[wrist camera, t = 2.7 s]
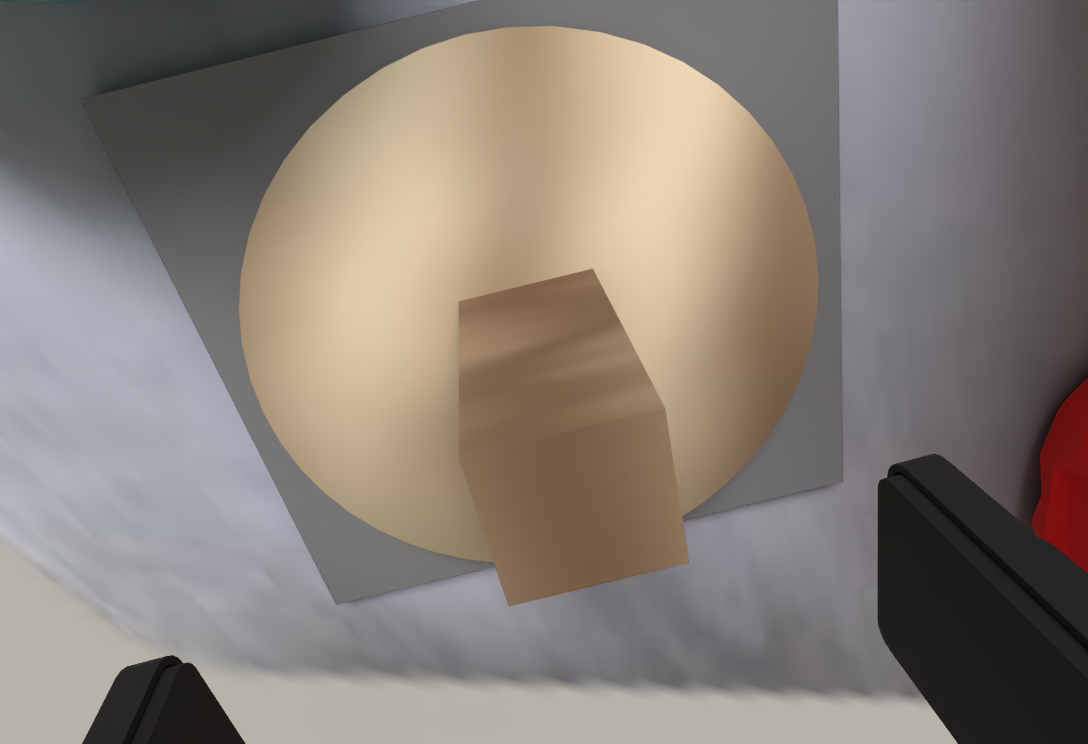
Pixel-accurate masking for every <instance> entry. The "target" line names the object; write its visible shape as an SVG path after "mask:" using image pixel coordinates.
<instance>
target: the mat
mask: <svg viewBox="0 0 1088 744" xmlns="http://www.w3.org/2000/svg"><path fill="white" fill-rule="evenodd" d="M510 26H557V27H565V28H573V29H581V30H589V31H596V32H602V33H606V34H609V35H613V36H616V37H620V38H623V39H627V40H630V41H634V42H638V43H641V44H644V45H647V46H649V47H651V48H653V49H655V50H658V51H660V52H662V53H664V54H667V55H669V56H671V57H673V58H675V59H678V60H680V61H682V62H684V63H685V64H687V65H689V66H690V67H692V68H693V69H695V70H696V71H698V72H699V73H701V74H702V75H704V76H706V77H707V78H709V79H710V80H712V81H713V82H715V83H716V84H718V85H719V86H720V87H721V88H722V89H724V90H725V91H726V92H727V93H728V94H729V95H730V96H731V97H733V98H734V99H735V100H736V101H737V102H738V103H739V104H740V105H742V106H743V107H744V108H745V109H746V110H747V111H748V112H749V113H750V114H751V115H752V117H753V118H754V119H755V120H756V121H757V123H758V124H759V125H760V126H761V127H762V129H763V130H764V131H765V132H766V134H767V135H768V136H769V137H770V138H771V140H772V141H773V142H774V144H775V145H776V147H777V149H778V150H779V152H780V154H781V155H782V157H783V159H784V160H785V162H786V164H787V166H788V167H789V169H790V171H791V172H792V174H793V176H794V179H795V181H796V184H797V186H798V188H799V191H800V193H801V196H802V198H803V201H804V203H805V206H806V208H807V212H808V216H809V220H810V224H811V228H812V232H813V236H814V240H815V247H816V257H817V268H818V300H817V314H816V320H815V326H814V331H813V337H812V342H811V347H810V350H809V353H808V356H807V359H806V362H805V366H804V369H803V372H802V375H801V378H800V380H799V382H798V384H797V386H796V389H795V391H794V393H793V395H792V397H791V399H790V402H789V404H788V406H787V408H786V409H785V411H784V413H783V414H782V416H781V417H780V419H779V421H778V422H777V424H776V426H775V427H774V429H773V431H772V432H771V434H770V435H769V436H768V438H767V439H766V440H765V441H764V443H763V444H762V445H761V447H760V448H759V449H758V450H757V452H756V453H755V454H754V456H753V457H752V458H751V459H750V460H749V461H748V462H747V463H746V464H745V465H744V466H743V467H742V468H741V469H740V471H739V472H738V473H737V474H736V475H735V476H734V477H733V478H732V479H731V480H730V481H729V482H728V483H726V484H725V485H724V486H723V487H722V488H720V489H719V490H718V491H717V492H715V493H714V494H713V495H712V496H711V497H709V498H708V499H707V500H706V501H705V502H703V503H702V504H700V505H699V506H697V507H696V508H694V509H693V510H691V511H690V512H688V513H687V514H685V515H684V516H682V520H688V519H692V518H696V517H700V516H704V515H708V514H712V513H716V512H720V511H725V510H729V509H733V508H737V507H741V506H745V505H749V504H753V503H758V502H762V501H766V500H770V499H774V498H778V497H782V496H786V495H790V494H795V493H799V492H803V491H807V490H811V489H815V488H819V487H823V486H827V485H832V484H836V483H840V482H843V436H842V345H841V253H840V162H839V71H838V0H478V1H474V2H470V3H466V4H462V5H458V6H454V7H450V8H446V9H442V10H438V11H434V12H430V13H426V14H422V15H418V16H414V17H410V18H405V19H401V20H397V21H393V22H389V23H385V24H381V25H377V26H373V27H369V28H365V29H361V30H357V31H353V32H349V33H345V34H341V35H337V36H333V37H329V38H325V39H321V40H317V41H313V42H309V43H305V44H301V45H296V46H292V47H288V48H284V49H280V50H276V51H272V52H268V53H264V54H260V55H256V56H252V57H248V58H244V59H240V60H236V61H232V62H228V63H224V64H220V65H216V66H212V67H208V68H204V69H200V70H196V71H191V72H187V73H183V74H179V75H175V76H171V77H167V78H163V79H159V80H155V81H151V82H147V83H143V84H139V85H135V86H131V87H127V88H123V89H119V90H115V91H111V92H107V93H103V94H99V95H95V96H91V97H86V98H82V99H80V100H81V102H82V104H83V106H84V108H85V110H86V112H87V114H88V116H89V118H90V120H91V122H92V124H93V126H94V128H95V130H96V132H97V134H98V136H99V138H100V140H101V142H102V144H103V146H104V148H105V150H106V152H107V153H108V155H109V157H110V159H111V161H112V163H113V165H114V167H115V169H116V171H117V173H118V175H119V177H120V179H121V181H122V183H123V185H124V187H125V189H126V191H127V193H128V195H129V197H130V199H131V201H132V203H133V205H134V207H135V209H136V211H137V213H138V215H139V217H140V219H141V221H142V223H143V225H144V227H145V229H146V230H147V232H148V234H149V236H150V238H151V240H152V242H153V244H154V246H155V248H156V250H157V252H158V254H159V256H160V258H161V260H162V262H163V264H164V266H165V268H166V270H167V272H168V274H169V276H170V278H171V280H172V282H173V284H174V286H175V288H176V290H177V292H178V294H179V296H180V298H181V300H182V302H183V304H184V306H185V308H186V309H187V311H188V313H189V315H190V317H191V319H192V321H193V323H194V325H195V327H196V329H197V331H198V333H199V335H200V337H201V339H202V341H203V343H204V345H205V347H206V349H207V351H208V353H209V355H210V357H211V359H212V361H213V363H214V365H215V367H216V369H217V371H218V373H219V375H220V377H221V379H222V381H223V383H224V385H225V386H226V388H227V390H228V392H229V394H230V396H231V398H232V400H233V402H234V404H235V406H236V408H237V410H238V412H239V414H240V416H241V418H242V420H243V422H244V424H245V426H246V428H247V430H248V432H249V434H250V436H251V438H252V440H253V442H254V444H255V446H256V448H257V450H258V452H259V454H260V456H261V458H262V460H263V462H264V463H265V465H266V467H267V469H268V471H269V473H270V475H271V477H272V479H273V481H274V483H275V485H276V487H277V489H278V491H279V493H280V495H281V497H282V499H283V501H284V503H285V505H286V507H287V509H288V511H289V513H290V515H291V517H292V519H293V521H294V523H295V525H296V527H297V529H298V531H299V533H300V535H301V537H302V539H303V540H304V542H305V544H306V546H307V548H308V550H309V552H310V554H311V556H312V558H313V560H314V562H315V564H316V566H317V568H318V570H319V572H320V574H321V576H322V578H323V580H324V582H325V584H326V586H327V588H328V590H329V592H330V594H331V596H332V598H333V600H334V602H335V604H336V605H338V604H342V603H346V602H350V601H354V600H358V599H363V598H367V597H371V596H375V595H379V594H383V593H387V592H391V591H395V590H400V589H404V588H408V587H412V586H416V585H420V584H424V583H428V582H432V581H437V580H441V579H445V578H449V577H453V576H457V575H461V574H465V573H470V572H474V571H478V570H482V569H486V568H490V567H494V566H495V564H494V562H486V561H477V560H468V559H463V558H459V557H454V556H449V555H445V554H440V553H436V552H433V551H430V550H427V549H424V548H421V547H418V546H415V545H412V544H409V543H406V542H404V541H402V540H399V539H397V538H395V537H393V536H391V535H389V534H386V533H384V532H382V531H380V530H378V529H376V528H374V527H373V526H371V525H369V524H368V523H366V522H364V521H363V520H361V519H359V518H358V517H356V516H354V515H353V514H351V513H350V512H348V511H347V510H346V509H344V508H343V507H342V506H341V505H339V504H338V503H337V502H335V501H334V500H333V499H332V498H330V497H329V496H328V495H327V494H325V493H324V492H323V491H322V490H321V489H320V488H319V487H318V486H317V485H316V484H315V483H314V482H313V481H312V480H311V479H310V478H309V477H308V476H307V475H306V474H305V473H304V472H303V471H302V470H301V469H300V468H299V466H298V465H297V464H296V462H295V461H294V460H293V458H292V457H291V456H290V455H289V453H288V452H287V451H286V449H285V448H284V447H283V445H282V444H281V443H280V441H279V439H278V438H277V436H276V434H275V432H274V431H273V429H272V427H271V425H270V424H269V422H268V420H267V418H266V417H265V415H264V413H263V411H262V408H261V406H260V403H259V401H258V398H257V396H256V393H255V391H254V388H253V386H252V383H251V381H250V377H249V373H248V368H247V364H246V360H245V356H244V352H243V348H242V339H241V328H240V317H239V298H240V281H241V270H242V265H243V261H244V256H245V251H246V247H247V242H248V237H249V233H250V231H251V228H252V225H253V223H254V220H255V217H256V215H257V212H258V209H259V207H260V204H261V202H262V199H263V196H264V195H265V193H266V191H267V189H268V187H269V186H270V184H271V182H272V180H273V179H274V177H275V175H276V173H277V172H278V170H279V168H280V166H281V164H282V163H283V161H284V159H285V158H286V157H287V156H288V154H289V153H290V152H291V150H292V149H293V148H294V147H295V145H296V144H297V143H298V142H299V140H300V139H301V138H302V136H303V135H304V134H305V133H306V131H307V130H308V129H309V128H310V126H311V125H312V124H313V123H314V122H316V121H317V120H318V119H319V118H320V117H321V116H322V115H323V114H324V113H325V112H326V111H327V110H328V109H329V108H330V107H331V106H333V105H334V104H335V103H336V102H337V101H338V100H339V99H340V98H341V97H342V96H343V95H345V94H346V93H347V92H349V91H350V90H351V89H353V88H354V87H356V86H357V85H359V84H360V83H361V82H363V81H364V80H366V79H367V78H369V77H370V76H372V75H373V74H374V73H376V72H377V71H379V70H380V69H382V68H383V67H385V66H386V65H388V64H390V63H392V62H394V61H396V60H399V59H401V58H403V57H405V56H407V55H409V54H411V53H413V52H415V51H417V50H419V49H421V48H423V47H425V46H429V45H432V44H435V43H438V42H441V41H444V40H447V39H450V38H453V37H456V36H459V35H462V34H466V33H472V32H478V31H484V30H490V29H496V28H502V27H510Z"/></svg>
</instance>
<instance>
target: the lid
mask: <svg viewBox="0 0 1088 744" xmlns="http://www.w3.org/2000/svg"><path fill="white" fill-rule="evenodd" d="M817 300H818V268H817V257H816V247H815V240H814V236H813V232H812V228H811V224H810V220H809V216H808V212H807V208H806V206H805V203H804V201H803V198H802V196H801V193H800V191H799V188H798V186H797V184H796V181H795V179H794V176H793V174H792V172H791V171H790V169H789V167H788V166H787V164H786V162H785V160H784V159H783V157H782V155H781V154H780V152H779V150H778V149H777V147H776V145H775V144H774V142H773V141H772V140H771V138H770V137H769V136H768V135H767V134H766V132H765V131H764V130H763V129H762V127H761V126H760V125H759V124H758V123H757V121H756V120H755V119H754V118H753V117H752V115H751V114H750V113H749V112H748V111H747V110H746V109H745V108H744V107H743V106H742V105H740V104H739V103H738V102H737V101H736V100H735V99H734V98H733V97H731V96H730V95H729V94H728V93H727V92H726V91H725V90H724V89H722V88H721V87H720V86H719V85H718V84H716V83H715V82H713V81H712V80H710V79H709V78H707V77H706V76H704V75H702V74H701V73H699V72H698V71H696V70H695V69H693V68H692V67H690V66H689V65H687V64H685V63H684V62H682V61H680V60H678V59H675V58H673V57H671V56H669V55H667V54H664V53H662V52H660V51H658V50H655V49H653V48H651V47H649V46H647V45H644V44H641V43H638V42H634V41H630V40H627V39H623V38H620V37H616V36H613V35H609V34H606V33H602V32H596V31H589V30H581V29H573V28H565V27H557V26H510V27H502V28H496V29H490V30H484V31H478V32H472V33H466V34H462V35H459V36H456V37H453V38H450V39H447V40H444V41H441V42H438V43H435V44H432V45H429V46H425V47H423V48H421V49H419V50H417V51H415V52H413V53H411V54H409V55H407V56H405V57H403V58H401V59H399V60H396V61H394V62H392V63H390V64H388V65H386V66H385V67H383V68H382V69H380V70H379V71H377V72H376V73H374V74H373V75H372V76H370V77H369V78H367V79H366V80H364V81H363V82H361V83H360V84H359V85H357V86H356V87H354V88H353V89H351V90H350V91H349V92H347V93H346V94H345V95H343V96H342V97H341V98H340V99H339V100H338V101H337V102H336V103H335V104H334V105H333V106H331V107H330V108H329V109H328V110H327V111H326V112H325V113H324V114H323V115H322V116H321V117H320V118H319V119H318V120H317V121H316V122H314V123H313V124H312V125H311V126H310V128H309V129H308V130H307V131H306V133H305V134H304V135H303V136H302V138H301V139H300V140H299V142H298V143H297V144H296V145H295V147H294V148H293V149H292V150H291V152H290V153H289V154H288V156H287V157H286V158H285V159H284V161H283V163H282V164H281V166H280V168H279V170H278V172H277V173H276V175H275V177H274V179H273V180H272V182H271V184H270V186H269V187H268V189H267V191H266V193H265V195H264V196H263V199H262V202H261V204H260V207H259V209H258V212H257V215H256V217H255V220H254V223H253V225H252V228H251V231H250V233H249V237H248V242H247V247H246V251H245V256H244V261H243V265H242V270H241V281H240V298H239V317H240V328H241V339H242V348H243V352H244V356H245V360H246V364H247V368H248V373H249V377H250V381H251V383H252V386H253V388H254V391H255V393H256V396H257V398H258V401H259V403H260V406H261V408H262V411H263V413H264V415H265V417H266V418H267V420H268V422H269V424H270V425H271V427H272V429H273V431H274V432H275V434H276V436H277V438H278V439H279V441H280V443H281V444H282V445H283V447H284V448H285V449H286V451H287V452H288V453H289V455H290V456H291V457H292V458H293V460H294V461H295V462H296V464H297V465H298V466H299V468H300V469H301V470H302V471H303V472H304V473H305V474H306V475H307V476H308V477H309V478H310V479H311V480H312V481H313V482H314V483H315V484H316V485H317V486H318V487H319V488H320V489H321V490H322V491H323V492H324V493H325V494H327V495H328V496H329V497H330V498H332V499H333V500H334V501H335V502H337V503H338V504H339V505H341V506H342V507H343V508H344V509H346V510H347V511H348V512H350V513H351V514H353V515H354V516H356V517H358V518H359V519H361V520H363V521H364V522H366V523H368V524H369V525H371V526H373V527H374V528H376V529H378V530H380V531H382V532H384V533H386V534H389V535H391V536H393V537H395V538H397V539H399V540H402V541H404V542H406V543H409V544H412V545H415V546H418V547H421V548H424V549H427V550H430V551H433V552H436V553H440V554H445V555H449V556H454V557H459V558H463V559H468V560H477V561H486V562H494V564H495V567H496V570H497V573H498V576H499V579H500V582H501V585H502V588H503V591H504V594H505V597H506V600H507V603H508V606H512V605H516V604H520V603H524V602H528V601H532V600H537V599H541V598H545V597H549V596H553V595H557V594H561V593H565V592H570V591H574V590H578V589H582V588H586V587H590V586H594V585H598V584H603V583H607V582H611V581H615V580H619V579H623V578H627V577H631V576H635V575H640V574H644V573H648V572H652V571H656V570H660V569H664V568H668V567H673V566H677V565H681V564H685V563H689V559H688V552H687V546H686V539H685V533H684V526H683V520H682V516H684V515H685V514H687V513H688V512H690V511H691V510H693V509H694V508H696V507H697V506H699V505H700V504H702V503H703V502H705V501H706V500H707V499H708V498H709V497H711V496H712V495H713V494H714V493H715V492H717V491H718V490H719V489H720V488H722V487H723V486H724V485H725V484H726V483H728V482H729V481H730V480H731V479H732V478H733V477H734V476H735V475H736V474H737V473H738V472H739V471H740V469H741V468H742V467H743V466H744V465H745V464H746V463H747V462H748V461H749V460H750V459H751V458H752V457H753V456H754V454H755V453H756V452H757V450H758V449H759V448H760V447H761V445H762V444H763V443H764V441H765V440H766V439H767V438H768V436H769V435H770V434H771V432H772V431H773V429H774V427H775V426H776V424H777V422H778V421H779V419H780V417H781V416H782V414H783V413H784V411H785V409H786V408H787V406H788V404H789V402H790V399H791V397H792V395H793V393H794V391H795V389H796V386H797V384H798V382H799V380H800V378H801V375H802V372H803V369H804V366H805V362H806V359H807V356H808V353H809V350H810V347H811V342H812V337H813V331H814V326H815V320H816V314H817Z"/></svg>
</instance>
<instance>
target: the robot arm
mask: <svg viewBox="0 0 1088 744" xmlns="http://www.w3.org/2000/svg"><path fill="white" fill-rule="evenodd" d="M878 625H879V629H880V632H881V634H882V637H883V639H884V641H885V643H886V645H887V646H888V648H889V649H890V651H891V652H892V654H893V655H894V656H895V658H896V659H897V660H898V662H899V663H900V665H901V666H902V667H903V669H904V670H905V671H906V673H907V674H908V676H909V677H910V678H911V680H912V681H913V682H914V684H915V685H916V687H917V688H918V689H919V691H920V692H921V693H922V695H923V696H924V698H925V699H926V700H927V702H928V703H929V704H930V706H931V707H932V709H933V710H934V711H935V713H936V714H937V715H938V717H939V718H940V720H941V721H942V722H943V724H944V725H945V726H946V728H947V729H948V731H949V732H950V733H951V734H952V736H953V737H954V739H955V740H956V741H957V743H958V744H1088V573H1087V572H1086V571H1085V570H1084V569H1082V568H1081V567H1080V566H1079V565H1078V564H1076V563H1075V562H1074V561H1073V560H1072V559H1070V558H1069V557H1068V556H1067V555H1066V554H1064V553H1063V552H1062V551H1061V550H1060V549H1058V548H1057V547H1055V546H1054V545H1052V544H1051V543H1049V542H1048V541H1046V540H1045V539H1041V538H1039V537H1038V536H1036V535H1035V534H1034V533H1033V532H1032V531H1031V530H1029V529H1028V528H1027V527H1026V526H1025V525H1023V524H1022V523H1021V522H1020V521H1019V520H1017V519H1016V518H1015V517H1014V516H1013V515H1012V514H1010V513H1009V512H1008V511H1007V510H1006V509H1004V508H1003V507H1002V506H1001V505H1000V504H998V503H997V502H996V501H995V500H994V499H993V498H991V497H990V496H989V495H988V494H987V493H985V492H984V491H983V490H982V489H981V488H979V487H978V486H977V485H976V484H975V483H974V482H972V481H971V480H970V479H969V478H968V477H966V476H965V475H964V474H963V473H962V472H960V471H959V470H958V469H957V468H956V467H955V466H953V465H952V464H951V463H950V462H949V461H947V460H946V459H945V458H943V457H942V456H940V455H936V454H931V455H928V456H924V457H920V458H916V459H912V460H909V461H905V462H901V463H897V464H894V465H892V466H891V467H890V468H889V470H888V476H887V478H884V479H881V480H880V482H879V484H878ZM82 744H245V742H244V741H243V739H242V738H241V736H240V735H239V733H238V732H237V730H236V728H235V727H234V725H233V724H232V722H231V721H230V719H229V718H228V716H227V715H226V713H225V712H224V710H223V709H222V707H221V705H220V704H219V702H218V701H217V699H216V698H215V696H214V695H213V693H212V692H211V691H210V689H209V687H208V686H207V684H206V682H205V681H204V679H203V678H202V677H201V675H200V673H199V672H198V670H197V669H196V668H195V666H194V665H193V664H191V663H184V664H183V662H182V661H181V660H180V659H179V658H178V657H175V656H173V655H171V656H165V657H162V658H158V659H154V660H150V661H147V662H143V663H139V664H135V665H131V666H127V667H126V668H124V669H123V670H121V671H120V673H119V674H118V676H117V677H116V678H115V680H114V682H113V684H112V686H111V688H110V690H109V692H108V694H107V696H106V698H105V700H104V702H103V704H102V706H101V708H100V710H99V712H98V714H97V716H96V718H95V720H94V722H93V724H92V726H91V728H90V730H89V731H88V733H87V735H86V737H85V739H84V741H83V743H82Z"/></svg>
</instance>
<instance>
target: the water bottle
mask: <svg viewBox="0 0 1088 744" xmlns="http://www.w3.org/2000/svg"><path fill="white" fill-rule="evenodd" d="M1040 466H1041V489H1042V494H1041V497H1040V499H1039V502H1038V505H1037V507H1036V510H1035V512H1034V515H1033V518H1032V520H1031V523H1032V526H1033V530H1034V534H1035V535H1036V536H1038V537H1039V538H1041V539H1045V540H1046V541H1048V542H1049V543H1051V544H1052V545H1054V546H1055V547H1057V548H1058V549H1060V550H1061V551H1062V552H1063V553H1064V554H1066V555H1067V556H1068V557H1069V558H1070V559H1072V560H1073V561H1074V562H1075V563H1076V564H1078V565H1079V566H1080V567H1081V568H1082V569H1084V570H1085V571H1086V572H1087V573H1088V378H1087V379H1086V380H1085V381H1084V382H1083V383H1082V384H1081V385H1080V386H1079V387H1078V388H1077V389H1076V390H1075V391H1074V392H1073V393H1072V394H1071V395H1070V396H1069V397H1068V398H1067V399H1066V400H1065V401H1064V402H1063V404H1062V405H1061V406H1060V408H1059V409H1058V410H1057V413H1056V415H1055V417H1054V420H1053V422H1052V425H1051V427H1050V430H1049V432H1048V435H1047V437H1046V440H1045V442H1044V445H1043V447H1042V450H1041V452H1040Z"/></svg>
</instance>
